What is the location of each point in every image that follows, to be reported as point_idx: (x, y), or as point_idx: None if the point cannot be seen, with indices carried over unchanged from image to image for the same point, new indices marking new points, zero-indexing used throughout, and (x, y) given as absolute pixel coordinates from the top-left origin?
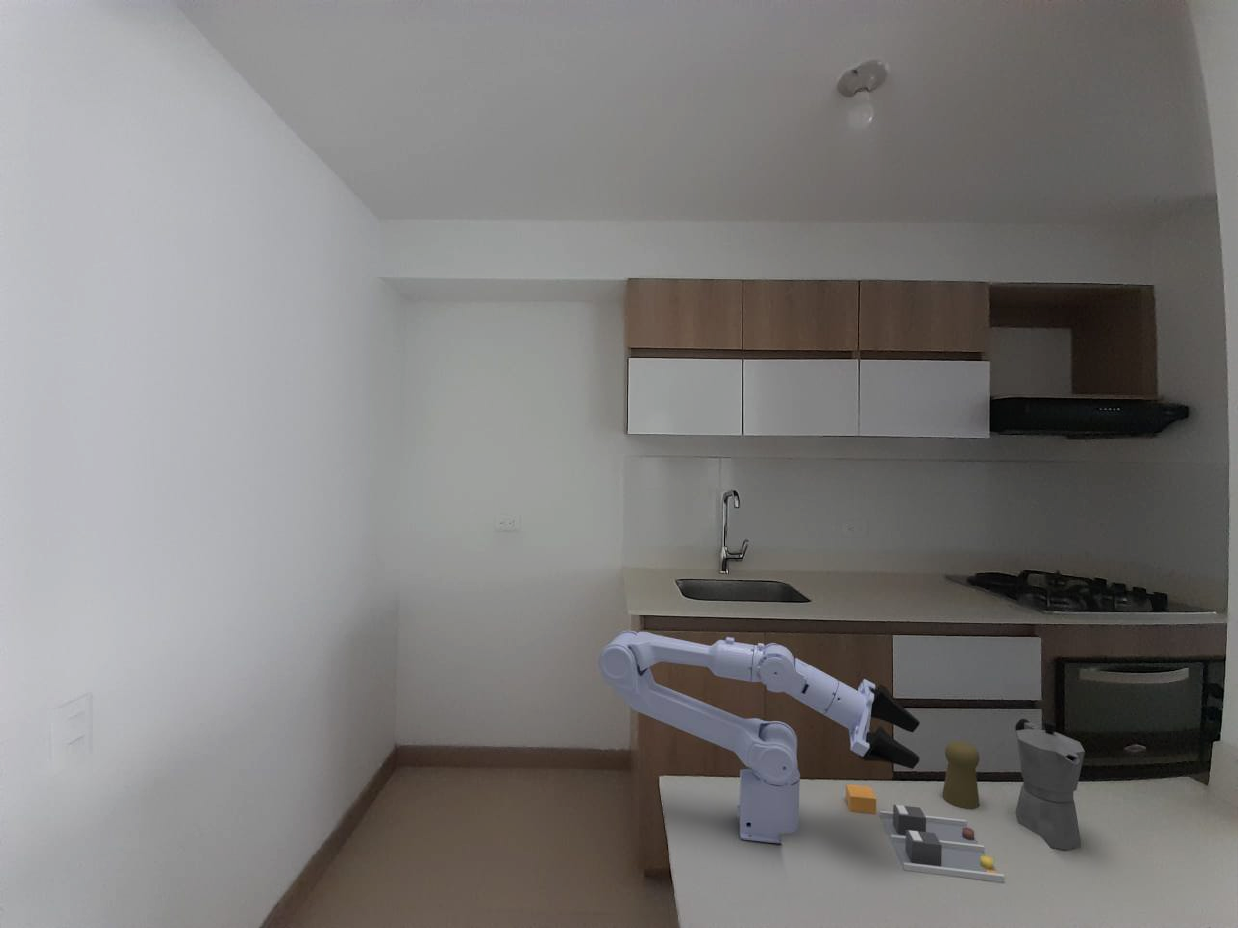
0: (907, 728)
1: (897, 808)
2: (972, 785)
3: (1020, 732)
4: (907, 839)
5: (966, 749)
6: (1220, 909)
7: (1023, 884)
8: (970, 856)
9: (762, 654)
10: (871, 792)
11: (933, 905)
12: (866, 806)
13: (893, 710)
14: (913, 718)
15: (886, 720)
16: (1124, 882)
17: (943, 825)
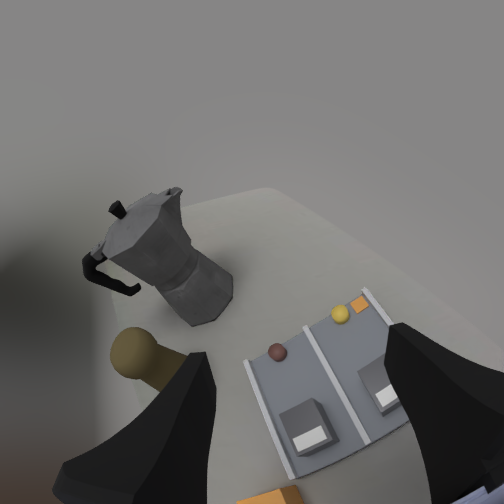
0: (213, 402)
1: (308, 447)
2: (174, 352)
3: (114, 251)
4: (390, 408)
5: (132, 338)
6: (260, 190)
7: (331, 289)
8: (332, 339)
9: None
10: (258, 498)
11: (462, 347)
12: (292, 501)
13: (184, 444)
14: (195, 365)
15: (205, 476)
16: (261, 232)
17: (266, 389)
